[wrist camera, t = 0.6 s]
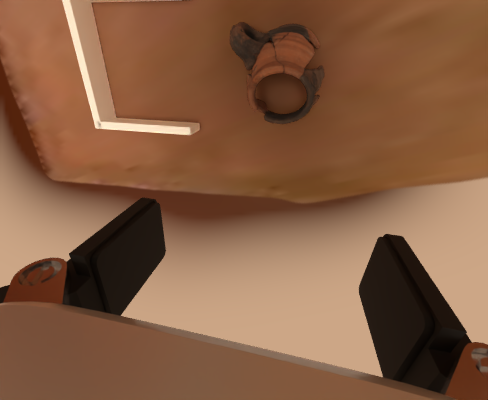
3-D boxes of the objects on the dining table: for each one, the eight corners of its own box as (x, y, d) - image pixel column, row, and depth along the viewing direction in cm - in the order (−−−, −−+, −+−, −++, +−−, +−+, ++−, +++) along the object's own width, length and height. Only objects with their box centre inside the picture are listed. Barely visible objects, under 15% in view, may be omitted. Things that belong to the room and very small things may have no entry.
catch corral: (82, -8, 30) (57, -17, 27) (191, -11, 28) (178, -22, 25) (112, 123, 37) (95, 128, 34) (199, 129, 35) (190, 135, 32)
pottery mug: (343, 46, 28) (343, 89, 24) (292, 102, 35) (286, 142, 31) (255, -26, 24) (238, 10, 20) (220, 55, 32) (202, 93, 28)
